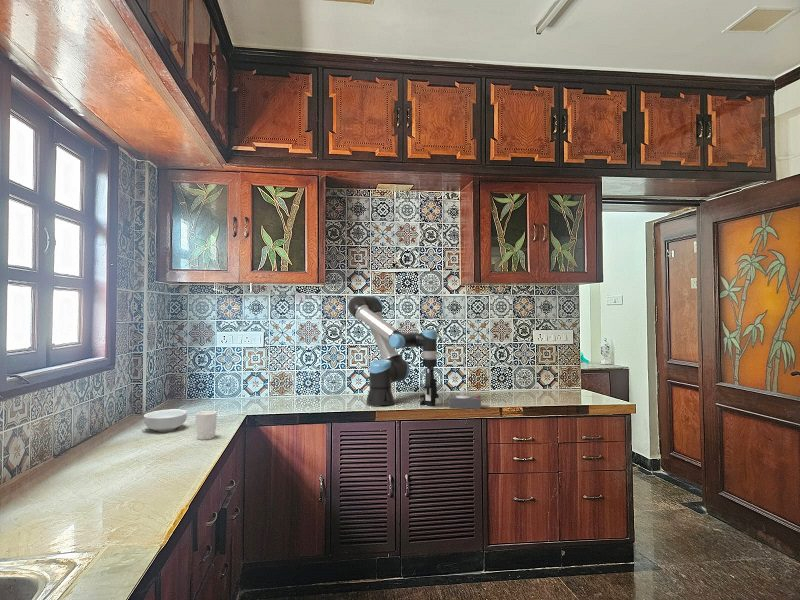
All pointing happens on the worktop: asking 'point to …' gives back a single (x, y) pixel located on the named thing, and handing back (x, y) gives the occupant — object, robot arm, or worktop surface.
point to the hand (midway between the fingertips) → (429, 398)
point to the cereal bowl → (165, 419)
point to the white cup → (206, 424)
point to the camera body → (465, 402)
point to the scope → (433, 395)
